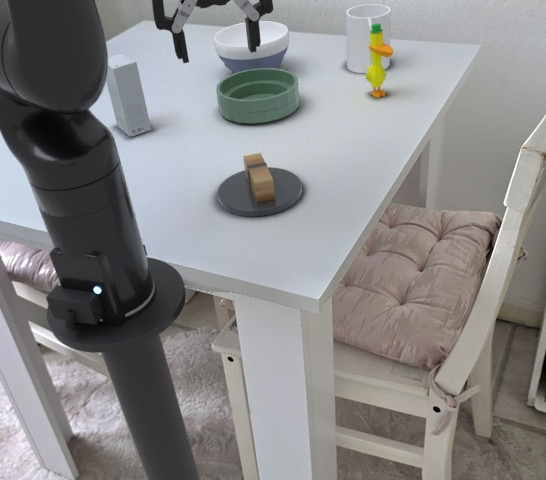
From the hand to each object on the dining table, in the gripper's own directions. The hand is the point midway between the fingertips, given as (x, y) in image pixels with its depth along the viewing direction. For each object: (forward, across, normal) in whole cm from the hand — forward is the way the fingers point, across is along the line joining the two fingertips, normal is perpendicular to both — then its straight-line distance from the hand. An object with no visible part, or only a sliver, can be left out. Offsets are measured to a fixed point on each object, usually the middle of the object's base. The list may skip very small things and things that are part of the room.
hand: (219, 55), depth 83 cm
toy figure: (+20, +30, +24) cm, 43 cm away
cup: (+19, +32, +36) cm, 52 cm away
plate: (+20, +3, -1) cm, 20 cm away
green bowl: (+20, +9, +28) cm, 35 cm away
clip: (+19, +3, -1) cm, 19 cm away
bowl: (+20, +12, +45) cm, 50 cm away
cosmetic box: (+20, -13, +29) cm, 38 cm away
